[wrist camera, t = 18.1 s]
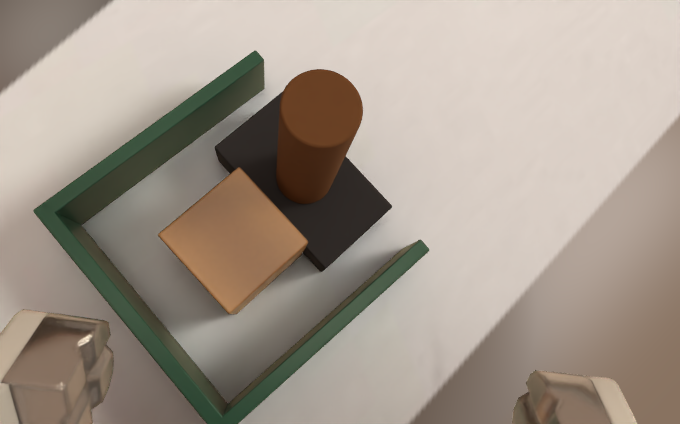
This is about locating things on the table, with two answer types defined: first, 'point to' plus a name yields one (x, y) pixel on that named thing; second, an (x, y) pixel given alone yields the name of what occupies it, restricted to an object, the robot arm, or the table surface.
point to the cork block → (234, 241)
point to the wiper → (309, 162)
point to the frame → (65, 225)
